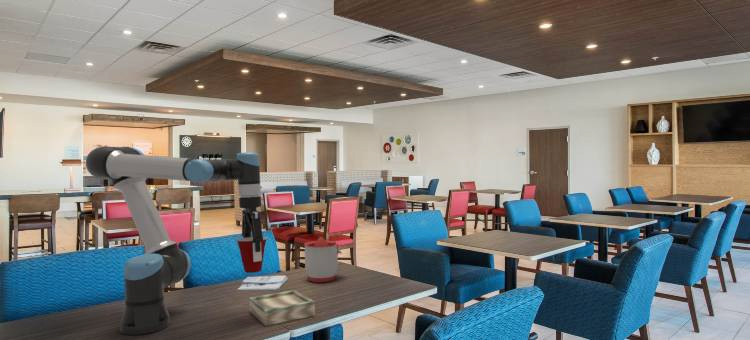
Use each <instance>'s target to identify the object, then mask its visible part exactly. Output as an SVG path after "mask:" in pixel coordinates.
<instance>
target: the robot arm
mask: <svg viewBox="0 0 750 340" xmlns="http://www.w3.org/2000/svg"><path fill="white" fill-rule="evenodd" d="M259 156H260V155H259V154H258V153H257V152H254V151H252V152H251V151H249V152H238V153H237V154H236V157H235V158H223V159H220V158H219V159H217V158H216V159H214V158H213V159H211V158H210V159H205V158H189V157H186V158H185V157H174V156H159V155H147V154H146V155H145V154H144V152H142V151H141V150H139V149H138V148H135V147H130V146H105V145H103V146H99V147H96V148H94V149H92V150H91V151H90V152H89V153H88V154H87V156H86V158H85V167H86V169H87V172H88V173H89V174H90V175H91V176H93V177H94V178H96V179H99V180H110V181H111V184H112V186H113V188H115V189H116V190H118V191H120V193H121V195H122V196H123V199H124V202H125V203H126V207H127V209H128V211H129V213H130V215H131V218H132V219H133V223H134V224H135V228H136V229H137V231H138V234H139V236H140V238H141V240H142V243H143V246H144V248H145V253H144V254H142V255H137V256H134V257H131V258H130V259H128V260H127V261H126V262H125V264H124V271H123V278H124V303H125V304H124V310H123V313H122V316H121V319H120V321H119V332H120V333H121V334H123V335H129V336H130V335H131V336H133V335H134V336H137V335H145V334H151V333H154V332H155V333H156V332H158V331H161V330H164V329H165V328H167V327H168V326H170V324H171V315H170V313H169V311H168V308H167V305H166V303H165V297H164V296H165V292H164V291H165V290H164V289H166V288H168V287H170V286H172V285H175V284H177V283H180V282H181V281H182V280H184V279H185V278H186V277H187V276H188V275H189V274H190V270H191V269H192V262H191V261H192V260H191V257H190V255H189V254H188V253H187V252H186V251H185V250H183V249H182V248H181V249H180V248H179V245H178V243H177V241H176V242H175V241H173V240H171V238H170V236H169V233H168V231H167V229H166V226H165V225H164V222H163V219H162V218H161V215H160V212H159V211H158V208H157V206H156V204H155V201H154V199H153V197H152V194H151V192H150V190H149V187H148V185H147V184H146V183H147V182H146V180H147V179H158V180H172V181H173V180H174V181H184V182H185V181H187V182H192V183H195V184H204V183H209V182H220V181H221V182H222V181H223V182H224V181H233V180H234V181H237V184H238V185H237V186H238V187H237V188H238V196H239V199H238V202H239V205H238V206H239V208H240V209H243V210H241V214H242V215H241V217H242V218H241V220H242V222H241V236H242V238H247V237H253V241H252V243H253V262H257V261H262V253H261V241H263V237H264V236H263V231H262V230H263V229H262V222H261V213H260V211H257V208H260V207H262V197H261V196H260V195H261V193H262V192H261V189H262V188H263V187H262V185H261V172H260V171H261V169H260V168H261V167H260V166H261V164H260V157H259Z"/></svg>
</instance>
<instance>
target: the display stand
mask: <svg viewBox="0 0 750 340" xmlns="http://www.w3.org/2000/svg"><path fill="white" fill-rule="evenodd" d="M248 299H249V300H248V301H249V303H248V304H249V313H251V314H252V315H253V316H254V317H255V318H256V319H257V320H259V321H260V323H262V324H263V325H264V326H265V327H267V326H272V325H276V324H280V323H281V324H282V323H286V322H291V321H296V320H299V319H305V318H309V317H315V316H316V311H315V310H316V306H315V305H316V304H315V303H316V302H315V301H314V300H313V299H311V298H309V297H307V296H306V295H305V294H303V293H301V292H300V291H298V290H296V289H293V290H288V291H287V290H286V291H281V292H280V291H279V292H276V293H275V292H274V293H269V294H263V295H257V296H251V297H249V298H248Z"/></svg>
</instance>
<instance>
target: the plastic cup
mask: <svg viewBox="0 0 750 340" xmlns="http://www.w3.org/2000/svg"><path fill="white" fill-rule="evenodd" d="M267 240H268V237H267V236H263V241H261V253H262V261H257V262H253V243H252V241H253V237H247V238H243V237H239V238H235V241H236V242H237V246H238V248H239V254H240V257H241V263H242V265H243V270H244V273H247V274H255V273H259V272H261V271H262V269H263V262H264V255H265V249H266V248H265V247H266V243H267Z"/></svg>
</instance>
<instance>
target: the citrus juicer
mask: <svg viewBox="0 0 750 340" xmlns="http://www.w3.org/2000/svg"><path fill="white" fill-rule="evenodd" d="M303 245H304V266H305V272H306V276H307V278H308V281H310V282H313V283H327V282H328V283H330V282H332V281H333V280H335V278H336V276H337V271H338V270H337V269H338V266H339V264H338V262H339V261H338V260H339V259H338V258H339V257H338V256H339V254H340V255H341V254H342V255H343V252H342V251H341V250H340V249H339V244H338V243H336V241H334V240H327V239H325V238H324V237H323V236H319V237H318V238H317V240H312V241H307V242H304V243H303ZM329 281H330V282H329Z"/></svg>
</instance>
